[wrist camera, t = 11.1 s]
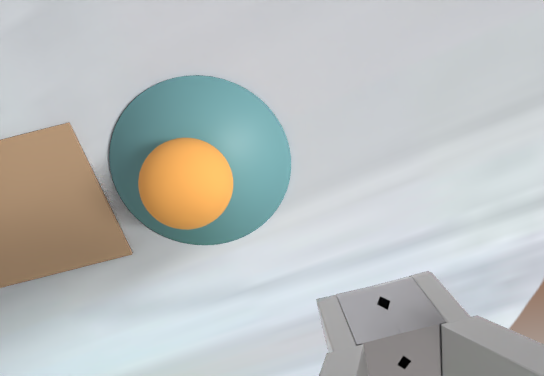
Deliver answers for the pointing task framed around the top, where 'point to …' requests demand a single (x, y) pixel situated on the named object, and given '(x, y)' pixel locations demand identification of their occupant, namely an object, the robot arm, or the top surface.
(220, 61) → the top surface
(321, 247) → the top surface
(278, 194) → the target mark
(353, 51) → the top surface
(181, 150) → the ball
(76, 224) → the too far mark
